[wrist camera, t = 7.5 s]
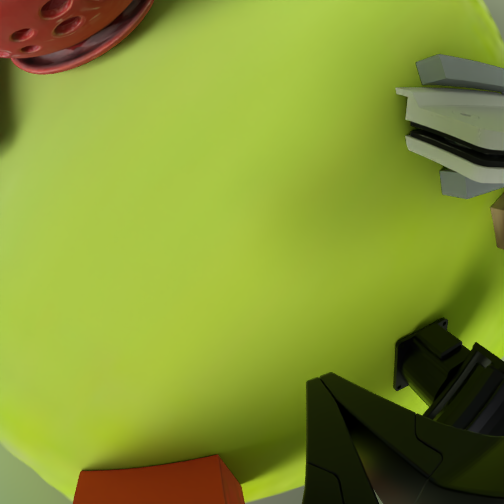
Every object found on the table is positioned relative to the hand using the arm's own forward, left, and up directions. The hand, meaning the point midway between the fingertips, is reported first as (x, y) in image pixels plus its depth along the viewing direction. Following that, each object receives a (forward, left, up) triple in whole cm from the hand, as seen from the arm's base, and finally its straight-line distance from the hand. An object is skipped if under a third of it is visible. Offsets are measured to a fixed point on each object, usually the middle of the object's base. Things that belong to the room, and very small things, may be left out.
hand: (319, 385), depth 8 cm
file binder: (-22, +16, -12) cm, 30 cm away
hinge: (+7, -22, -12) cm, 26 cm away
